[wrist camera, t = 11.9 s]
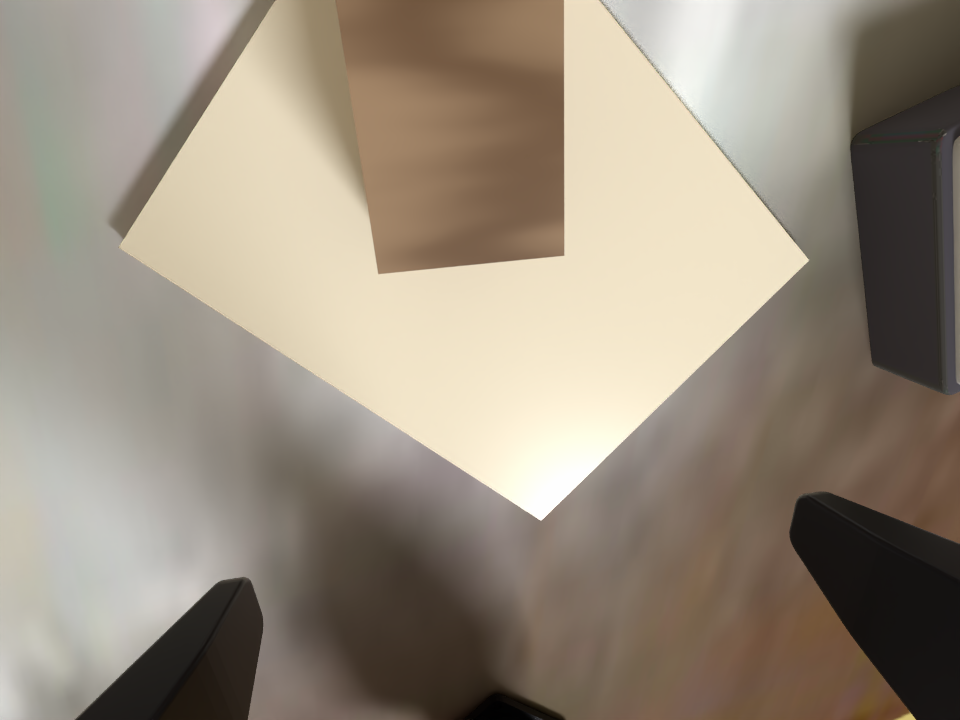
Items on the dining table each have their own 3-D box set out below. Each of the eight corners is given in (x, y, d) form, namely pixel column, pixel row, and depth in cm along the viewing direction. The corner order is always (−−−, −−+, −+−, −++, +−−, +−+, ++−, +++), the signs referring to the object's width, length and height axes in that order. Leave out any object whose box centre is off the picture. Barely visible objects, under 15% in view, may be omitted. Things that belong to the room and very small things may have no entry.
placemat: (798, 257, 20) (808, 260, 20) (538, 512, 24) (541, 520, 23) (417, -209, 13) (417, -225, 13) (128, 244, 17) (118, 247, 16)
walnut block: (525, 229, 18) (514, -131, 14) (566, 255, 13) (566, -276, 9) (385, 242, 17) (331, -127, 13) (376, 275, 13) (288, -277, 9)
